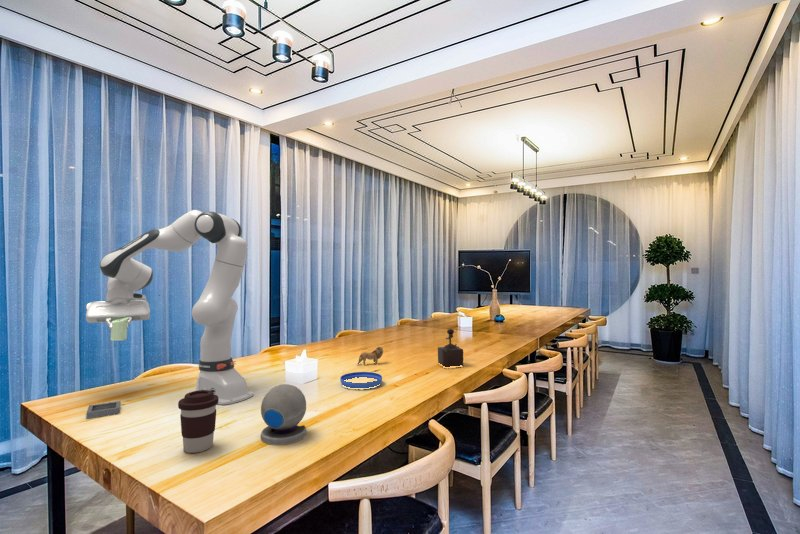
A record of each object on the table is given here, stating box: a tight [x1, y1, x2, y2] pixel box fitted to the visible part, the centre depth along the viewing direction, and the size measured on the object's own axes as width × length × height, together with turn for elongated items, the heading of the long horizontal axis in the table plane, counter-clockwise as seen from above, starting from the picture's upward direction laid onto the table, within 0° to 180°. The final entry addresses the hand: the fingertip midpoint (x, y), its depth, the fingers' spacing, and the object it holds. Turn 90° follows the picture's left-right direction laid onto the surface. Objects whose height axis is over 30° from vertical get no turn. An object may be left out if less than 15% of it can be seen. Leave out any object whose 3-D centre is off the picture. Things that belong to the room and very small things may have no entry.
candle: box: [110, 318, 128, 342], centre depth 150 cm, size 5×5×8 cm
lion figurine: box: [357, 346, 384, 365], centre depth 208 cm, size 15×5×9 cm, turn 115°
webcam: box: [260, 383, 307, 446], centre depth 118 cm, size 13×13×15 cm
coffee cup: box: [177, 390, 219, 454], centre depth 110 cm, size 10×10×15 cm
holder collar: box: [85, 400, 122, 420], centre depth 137 cm, size 9×9×2 cm
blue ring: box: [339, 371, 383, 388], centre depth 172 cm, size 18×18×4 cm
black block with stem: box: [437, 328, 464, 367], centre depth 208 cm, size 16×11×18 cm
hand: (118, 328), depth 149 cm, fingers closed on candle, 3 cm apart
